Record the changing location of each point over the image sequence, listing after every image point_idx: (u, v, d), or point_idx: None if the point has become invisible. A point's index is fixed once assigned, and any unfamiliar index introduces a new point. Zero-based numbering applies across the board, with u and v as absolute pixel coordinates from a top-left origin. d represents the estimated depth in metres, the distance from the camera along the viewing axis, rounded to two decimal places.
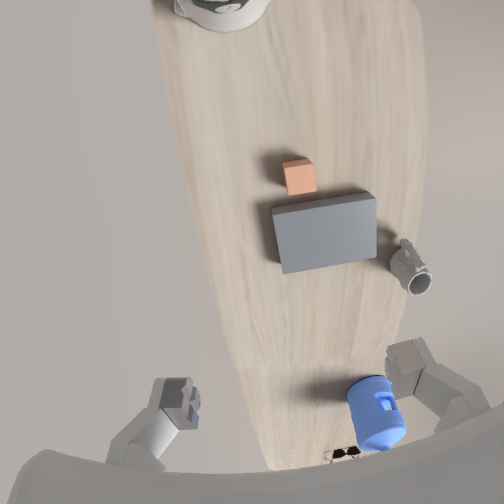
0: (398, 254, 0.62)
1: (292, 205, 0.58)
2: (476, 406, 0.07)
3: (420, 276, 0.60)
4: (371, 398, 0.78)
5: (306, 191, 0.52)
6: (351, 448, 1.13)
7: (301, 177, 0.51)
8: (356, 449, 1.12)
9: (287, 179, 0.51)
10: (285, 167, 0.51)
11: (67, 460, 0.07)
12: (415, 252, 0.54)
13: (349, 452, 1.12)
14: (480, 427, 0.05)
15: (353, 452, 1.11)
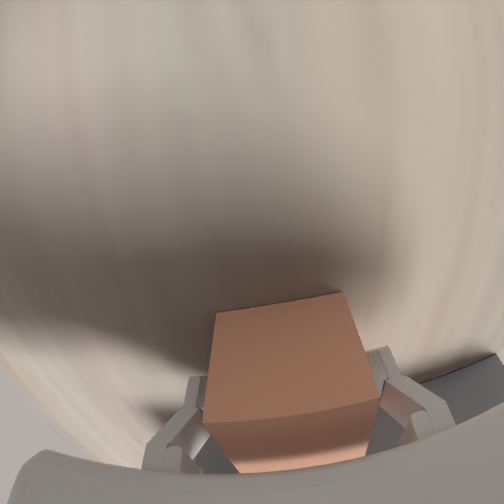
0: None
1: None
2: (439, 422, 0.07)
3: None
4: None
5: (319, 464, 0.09)
6: None
7: (299, 443, 0.08)
8: None
9: (227, 449, 0.08)
10: (212, 405, 0.08)
11: (67, 460, 0.07)
12: None
13: None
14: (480, 427, 0.05)
15: None
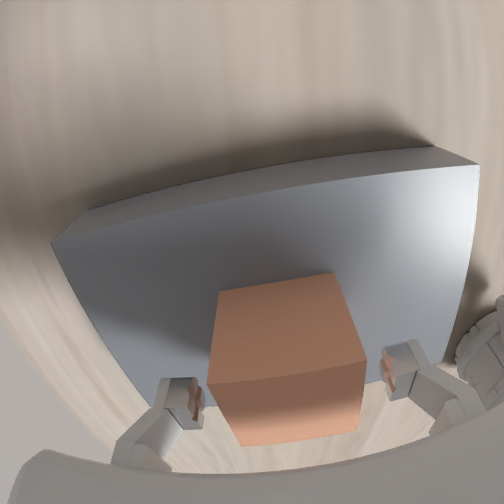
0: (485, 334, 0.18)
1: (142, 197, 0.15)
2: (471, 409, 0.07)
3: None
4: None
5: (315, 435, 0.11)
6: None
7: (295, 408, 0.09)
8: None
9: (228, 415, 0.10)
10: (215, 368, 0.09)
11: (67, 459, 0.07)
12: None
13: None
14: (480, 427, 0.05)
15: None
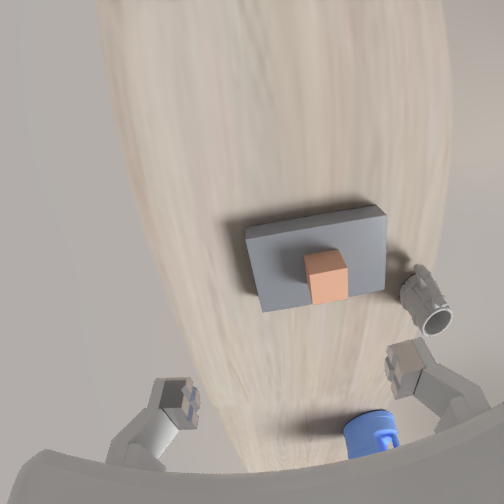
0: (411, 283, 0.47)
1: (273, 224, 0.44)
2: (476, 406, 0.07)
3: None
4: (371, 437, 0.64)
5: (335, 299, 0.40)
6: None
7: (330, 284, 0.39)
8: None
9: (312, 287, 0.39)
10: (310, 271, 0.38)
11: (67, 460, 0.07)
12: (435, 284, 0.40)
13: None
14: (480, 427, 0.05)
15: None
